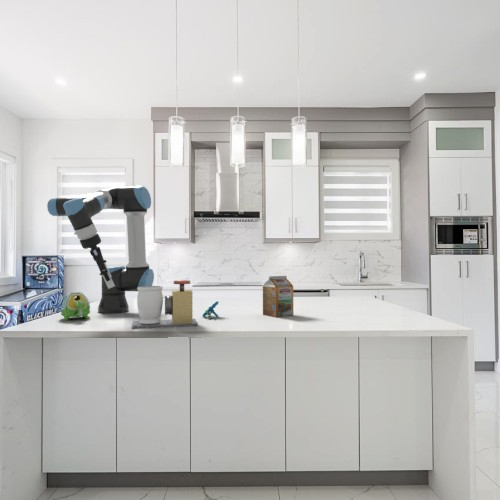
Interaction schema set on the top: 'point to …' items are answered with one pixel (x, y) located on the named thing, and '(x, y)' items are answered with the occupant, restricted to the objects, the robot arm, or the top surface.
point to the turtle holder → (75, 306)
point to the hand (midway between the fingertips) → (110, 282)
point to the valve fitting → (175, 309)
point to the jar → (150, 304)
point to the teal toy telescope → (211, 310)
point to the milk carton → (278, 297)
